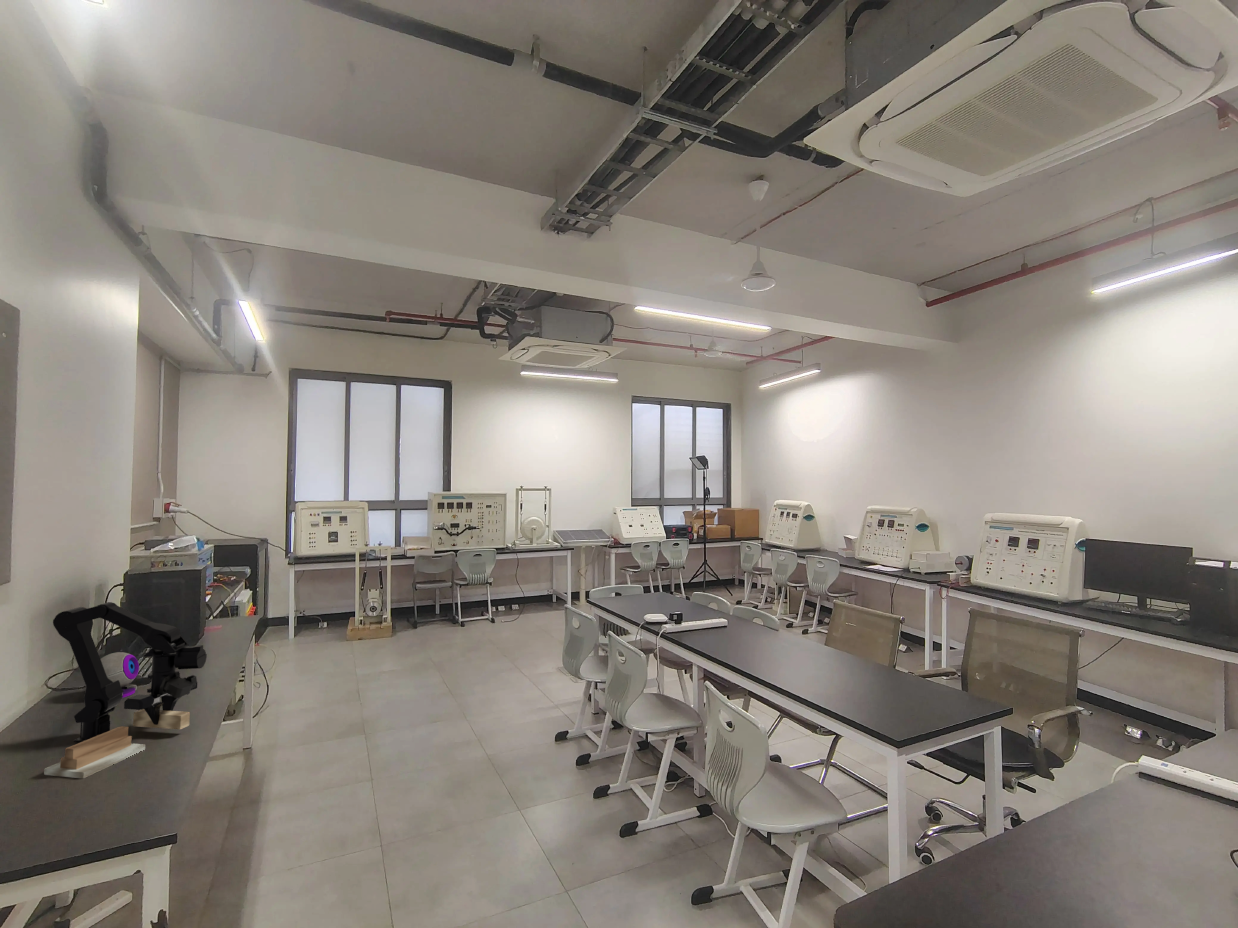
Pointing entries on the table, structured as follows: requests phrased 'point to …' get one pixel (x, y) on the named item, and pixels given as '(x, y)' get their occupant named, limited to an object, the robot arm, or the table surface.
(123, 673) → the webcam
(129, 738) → the ridge stand
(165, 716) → the light wooden block
